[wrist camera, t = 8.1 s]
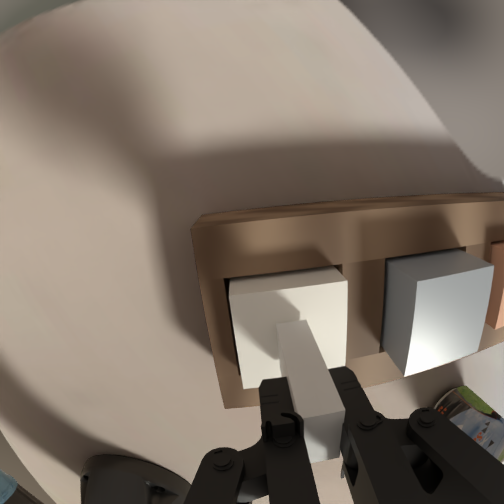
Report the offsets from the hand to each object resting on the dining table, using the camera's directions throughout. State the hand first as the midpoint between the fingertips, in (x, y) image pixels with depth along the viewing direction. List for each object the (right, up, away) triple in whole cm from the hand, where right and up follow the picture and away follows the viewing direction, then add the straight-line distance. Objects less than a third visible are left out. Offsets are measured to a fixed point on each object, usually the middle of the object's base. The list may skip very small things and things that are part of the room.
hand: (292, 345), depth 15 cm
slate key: (+9, +2, +3) cm, 10 cm away
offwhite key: (0, +1, +4) cm, 4 cm away
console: (+9, +3, +7) cm, 12 cm away
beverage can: (+21, -12, +12) cm, 27 cm away
